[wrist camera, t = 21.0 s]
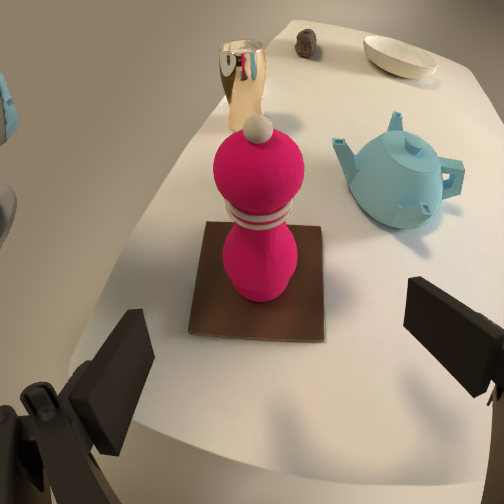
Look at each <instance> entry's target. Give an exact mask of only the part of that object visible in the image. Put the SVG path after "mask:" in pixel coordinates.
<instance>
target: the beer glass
mask: <svg viewBox="0 0 504 504" xmlns="http://www.w3.org/2000/svg"><path fill="white" fill-rule="evenodd" d="M219 49H220V73H221V80H222V84H223V88H224V91H225V94H226V97H227V101H228V104H229V120H228V126H229V128H230V129H231V130H233V131H234V132H237V131H239V130H241V129H243V125H244V123H245V121H246V120H247V119H248V118H249V117H251V116H253V115H262V111H261V101H262V96H263V91H264V86H265V79H266V59H265V49H264V44H263V43H261V42H259V41H255V40H247V39H245V40H243V39H242V40H233V41H229V42H226V43H224V44H222V45H221V46H220V47H219Z"/></svg>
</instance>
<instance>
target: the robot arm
mask: <svg viewBox="0 0 504 504" xmlns="http://www.w3.org/2000/svg"><path fill="white" fill-rule="evenodd" d="M18 128H19V118H18V115H17V111H16V109H15V106H14V103H13V101H12V98H11V95H10V92H9V89H8V86H7V84H6V81H5V78H4V76H3V75H2V74H1V73H0V146H1V145H3V144H4V143H6V141H7V140H8V138H10V137H11V136H12V135H13V134H14V133H15V132H16V131H17V130H18ZM403 326H404V327H405V328H406V329H407V330H408V331H409V332H410V333H411V334H412V335H413V336H414V337H415V338H416V339H417V340H418V341H419V342H420V343H421V344H422V345H423V346H424V347H425V348H426V349H427V350H428V351H429V352H430V353H431V354H432V355H433V356H434V357H435V358H436V359H437V360H438V361H439V362H440V363H441V364H442V365H443V366H444V367H445V368H446V369H447V370H448V371H449V373H450V374H451V375H452V376H453V377H454V378H455V379H456V380H457V381H458V382H459V383H460V384H461V385H462V386H463V387H464V388H465V389H466V390H467V392H468V393H469V394H470V395H471V396H472V397H473V398H475V397H477V396H479V395H481V394H483V393H485V392H486V391H487V389H488V386H489V384H490V381H491V380H492V381H493V382H494V383H495V387H494V389H493V391H492V394H491V396H490V398H489V401H488V403H487V406H489V405H490V403H491V401H493V405H492V406H493V413H492V431H491V443H490V453H489V461H488V468H487V474H486V480H485V486H484V491H483V496H482V501H481V504H504V329H503V328H501V327H500V326H498V325H497V324H494V322H493V321H491V320H490V319H489V320H488V318H487V317H485V316H484V315H482V314H481V313H478V312H475V311H474V310H472V309H471V308H469V307H468V306H466V305H464V304H463V303H461V302H460V301H458V300H457V299H455V298H454V297H452V296H451V295H449V294H448V293H446V292H444V291H443V290H441V289H440V288H438V287H437V286H435V285H433V284H432V283H430V282H429V281H427V280H425V279H424V278H422V277H421V276H418V277H413V278H408V288H407V298H406V308H405V316H404V324H403ZM154 359H155V355H154V352H153V348H152V345H151V341H150V337H149V334H148V330H147V326H146V322H145V318H144V314H143V310H142V309H128V310H127V311H126V313H125V314H124V315H123V317H122V318H121V320H120V321H119V322H118V324H117V325H116V327H115V328H114V329H113V331H112V332H111V334H110V335H109V336H108V338H107V339H106V341H105V342H104V344H103V345H102V346H101V348H100V349H99V351H98V352H97V354H96V355H95V357H94V358H93V360H92V361H85V362H84V363H83V364H81V365H80V366H79V367H77V369H76V370H75V372H74V373H73V376H71V377H70V379H69V380H68V383H66V385H65V386H64V388H63V389H62V391H61V392H60V394H59V395H58V396H57V394H56V392H55V390H54V388H53V386H52V385H51V384H50V383H47V382H38V383H34V384H32V385H30V386H28V387H27V388H25V389H24V390H23V392H22V393H21V396H20V400H21V401H22V404H23V405H24V407H25V409H26V411H27V412H28V414H29V415H28V416H18V415H17V414H16V412H15V410H14V409H13V408H12V407H11V406H9V405H2V406H0V504H52V502H51V491H50V486H51V489H52V491H53V494H54V496H55V499H56V502H57V504H121V502H120V501H119V499H118V498H117V496H116V494H115V493H114V491H113V490H112V488H111V486H110V485H109V483H108V481H107V480H106V478H105V476H104V475H103V473H102V471H101V469H100V467H99V466H98V464H97V462H96V460H95V459H94V457H93V455H92V453H91V452H90V451H91V449H92V446H93V444H94V445H95V447H96V448H97V450H98V451H99V453H100V454H104V455H111V456H119V454H120V451H121V448H122V446H123V443H124V440H125V437H126V434H127V431H128V428H129V425H130V422H131V420H132V417H133V414H134V412H135V409H136V406H137V403H138V401H139V398H140V395H141V393H142V390H143V387H144V385H145V382H146V379H147V377H148V374H149V371H150V369H151V366H152V364H153V361H154Z"/></svg>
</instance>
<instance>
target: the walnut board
mask: <svg viewBox="0 0 504 504" xmlns="http://www.w3.org/2000/svg"><path fill="white" fill-rule="evenodd" d="M233 227H234V222H208V221H207V222H206V227H205V232H204V237H203V243H202V248H201V254H200V259H199V265H198V271H197V277H196V283H195V289H194V295H193V301H192V308H191V314H190V321H189V328H188V333H189V334H191V335H201V336H211V337H223V338H236V339H251V340H269V341H294V342H323V341H324V340H325V331H324V285H323V260H322V242H321V227H320V226H304V225H287V227H288V228H289V230H290V231H291V233H292V235H293V237H294V239H295V242H296V246H297V265H296V268H295V271H294V273H293V275H292V276H291V277H290V279H289V281H288V284H287V286H286V288H285V290H284V291H283V292H282V293H281V294H280V295H279V296H278V297H276V298H274V299H272V300H270V301H265V302H256V301H251V300H248V299H246V298H244V297H243V296H241V295H240V294H239V293H238V292H237V291H236V289H235V288H234V286H233V283H232V280H231V279H230V277H229V276H228V275H227V273H226V270H225V268H224V264H223V247H224V243H225V240H226V238H227V235H228V234H229V232H230V231H231V229H232V228H233Z"/></svg>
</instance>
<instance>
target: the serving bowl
mask: <svg viewBox="0 0 504 504" xmlns="http://www.w3.org/2000/svg"><path fill="white" fill-rule="evenodd" d="M364 50H365V52H366V54H367V56H368V57H369V59H370V60H371V61H372V62H374V63H375V64H376V65H378V66H379V67H381V68H382V69H384V70H386V71H388V72H390V73H392V74H395V75H397V76H401V77H405V78H410V79H425V78H427V77H429V76H431V75H432V74H433V73H434V72H435V70H436V68H437V63H436V62H435V60H434V59H433V58H431V57H430V56H429V55H427V54H426V53H424V52H423V51H421V50H419V49H418V48H416V47H414V46H411V45H409V44H407V43H404V42H401V41H398V40H395V39H392V38H388V37H382V36H367V37H365V38H364Z"/></svg>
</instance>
